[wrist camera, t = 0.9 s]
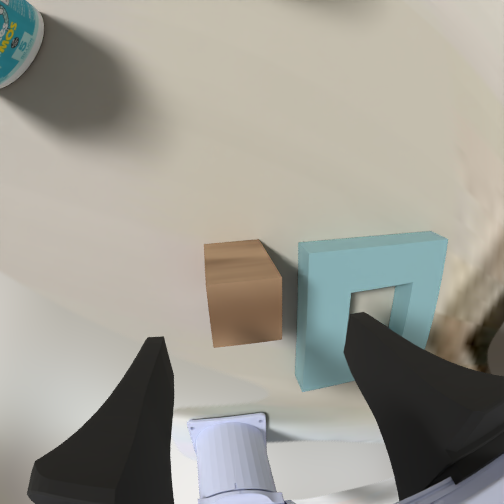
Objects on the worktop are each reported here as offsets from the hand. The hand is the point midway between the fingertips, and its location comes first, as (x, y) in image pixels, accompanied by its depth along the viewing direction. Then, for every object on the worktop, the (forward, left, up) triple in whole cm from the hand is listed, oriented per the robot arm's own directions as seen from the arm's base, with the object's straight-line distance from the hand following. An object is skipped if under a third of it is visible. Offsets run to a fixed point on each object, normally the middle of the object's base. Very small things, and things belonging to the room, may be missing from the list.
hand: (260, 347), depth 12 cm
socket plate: (-7, -12, -12) cm, 18 cm away
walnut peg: (-2, 0, -12) cm, 12 cm away
